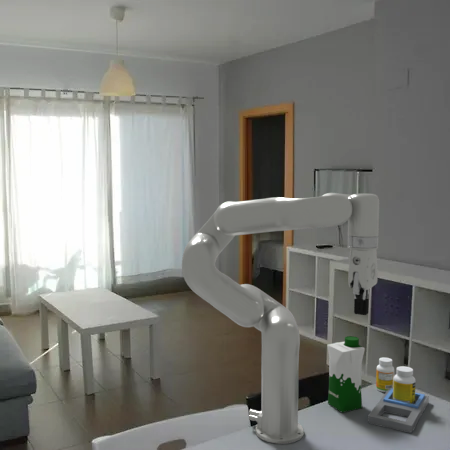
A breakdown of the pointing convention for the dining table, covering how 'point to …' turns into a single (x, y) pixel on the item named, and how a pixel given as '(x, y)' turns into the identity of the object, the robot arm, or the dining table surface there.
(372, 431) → the dining table surface
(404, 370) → the pill bottle
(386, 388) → the supplement bottle
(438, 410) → the dining table surface
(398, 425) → the organizer board
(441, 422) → the dining table surface
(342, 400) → the milk carton
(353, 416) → the dining table surface
